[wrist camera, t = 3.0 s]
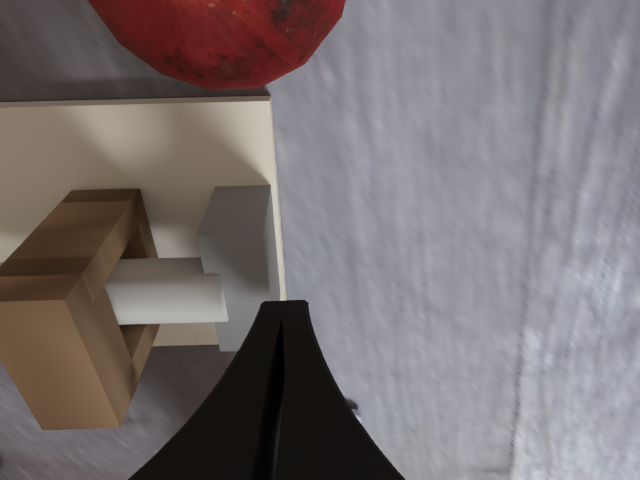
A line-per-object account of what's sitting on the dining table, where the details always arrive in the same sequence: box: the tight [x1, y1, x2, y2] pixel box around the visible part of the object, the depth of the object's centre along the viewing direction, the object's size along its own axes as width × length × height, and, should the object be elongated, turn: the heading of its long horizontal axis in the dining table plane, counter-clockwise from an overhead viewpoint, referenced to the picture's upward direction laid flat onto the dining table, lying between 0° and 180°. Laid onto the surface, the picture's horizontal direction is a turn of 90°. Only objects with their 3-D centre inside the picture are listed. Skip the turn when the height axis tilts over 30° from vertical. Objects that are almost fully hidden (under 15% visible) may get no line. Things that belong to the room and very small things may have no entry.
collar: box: [0, 188, 160, 430], centre depth 15 cm, size 2×5×6 cm, turn 1°
